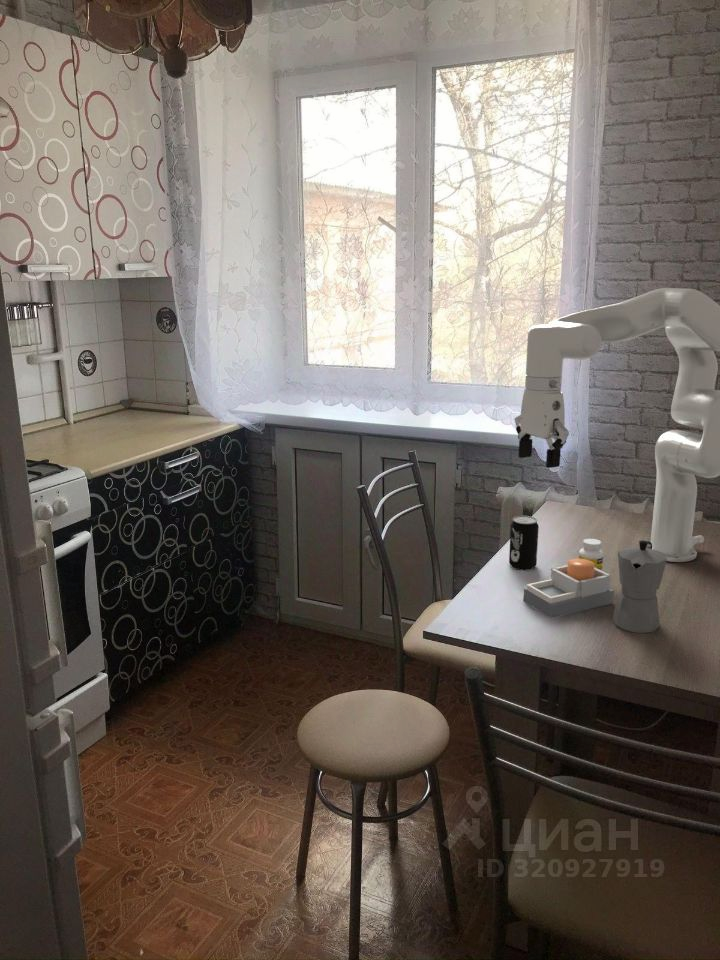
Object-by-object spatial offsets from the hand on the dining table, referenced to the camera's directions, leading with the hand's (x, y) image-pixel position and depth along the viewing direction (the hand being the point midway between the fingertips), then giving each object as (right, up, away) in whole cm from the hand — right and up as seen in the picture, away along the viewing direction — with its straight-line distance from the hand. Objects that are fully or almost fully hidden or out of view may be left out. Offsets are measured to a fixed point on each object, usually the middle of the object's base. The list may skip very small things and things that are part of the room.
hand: (538, 461), depth 171 cm
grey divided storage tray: (+6, -31, -1) cm, 31 cm away
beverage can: (+1, -25, +19) cm, 32 cm away
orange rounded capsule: (+9, -27, -1) cm, 28 cm away
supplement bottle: (+14, -28, +10) cm, 33 cm away
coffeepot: (+18, -33, -10) cm, 39 cm away
